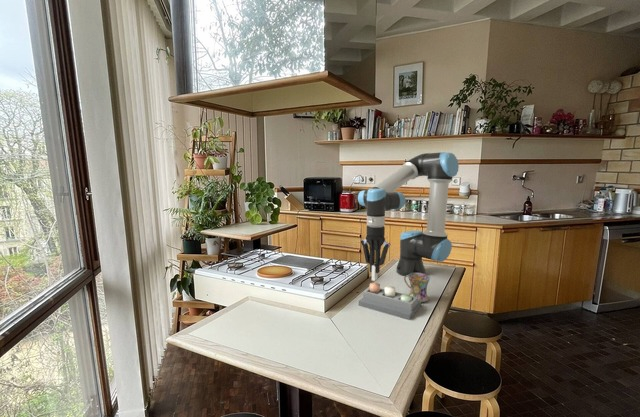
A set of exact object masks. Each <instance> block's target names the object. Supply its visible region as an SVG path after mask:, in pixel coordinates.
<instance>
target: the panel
mask: <svg viewBox="0 0 640 417" xmlns="http://www.w3.org/2000/svg"><path fill="white" fill-rule="evenodd" d="M369 290H370V286H369V287H368V288H367V289H365V290H364V291H363V293H362V294H363V295H362V296H363V297H362V298H360V299H359V300H358V306H360V307H363V308H365V309H366V308H367V309H370V310H373V311H378V312H380V313H384V314H387V315H391V316H395V317H398V318H402V319H405V320H408V321H410V320H411V319H412V318H413V317H414V315H416V313H417V312H418V311H419V309H420V308H421V307H422V302H420V301H418V297H414V296H412V301H411V302H407V301H403V300H401V295H404V294H405V293H401V292H397V291H395V297H394V298H391V297H387V296H385V288H381V287H380V293H378V294H375V293H371V292H369Z"/></svg>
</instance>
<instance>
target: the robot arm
mask: <svg viewBox="0 0 640 417" xmlns="http://www.w3.org/2000/svg"><path fill="white" fill-rule="evenodd" d="M459 169H460V168H459V161H458V158H457V156H456V155H455V154H454V153H452V152H443V151H442V152H429V153H422V154H419V155H416V156H413V157H412V158H410V159H408V160H407V161H406V162H404V163H403V164H402V166H401V168H399V169H397V170H396V171H394V172H393V173H392V174H390V175H389V176H388V177H386V178H384V179H383V180H382V181H380V182H379V183H378V184H376V185H375V186H373V187H372V188H368V190H367V189H366V190H361V191H360V192H359V193H358V196H357V202H358V203H359V205H361V206H362V207H366V236H365V238H364V239H362V240H360V245H362V250H363V255H364V258H365V263H366V264H369V272H370V273H371V281H372V282H375V281H377V280H378V278H379V277H378V274H379V273H380V267H381V266H383V265H384V264H385V261H386V259H387V258H386V257H387V254H388V250H389V247H390V246H391V243H388V242H387V241H386V238H385V235H386V234H385V232H386V231H385V230H386V229H385V228H386V227H385V224H386V211H392V210H394V211H395V210H396V211H397V210H400V209H403V207H404V206H405V205H406V197H405V195H404V194H403V193H402V192H399V191H397V190H398V189H400V188H402V186H403V185H406V183H408V182H409V181H410V180H415V179H416V178H419V177H427V181H429V183H430V184H429V196H428V206H427V208H428V209H427V219H426V220H427V221H426V230H424V231H422V230H406V231H403V232H400V239H399V245H400V246H399V259H398V263H397V265H396V273H397V274H398V275H401V276H404V277H405V276H408V275H409V274H411V273H423V274H426V269H425V265H424V261H423V259H428V260H431V261H434V262H439V263H440V262H444V261H445V260H447V259H448V258H449V256H450V255H451V251H452V246H453V244H452V242H451V240H450V239H448V233H447V232H446V231H445V230H446V220H447V210H448V209H447V207H448V194H449V184H450V183H451V182H453V177H455V176H457V174H458V172H459ZM382 246H383V248H382ZM381 250H382V252H381Z"/></svg>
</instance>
